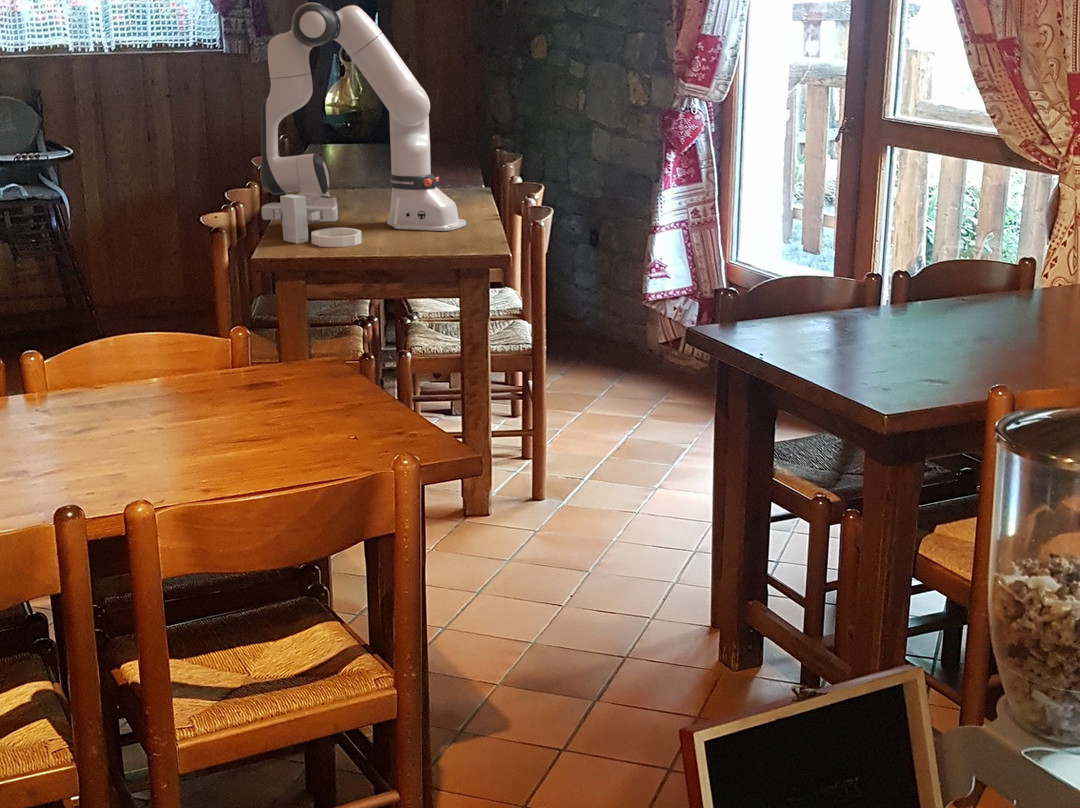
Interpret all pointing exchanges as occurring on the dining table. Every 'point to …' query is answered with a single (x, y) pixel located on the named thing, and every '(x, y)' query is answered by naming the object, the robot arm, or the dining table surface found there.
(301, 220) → the skincare box
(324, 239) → the ring dish
